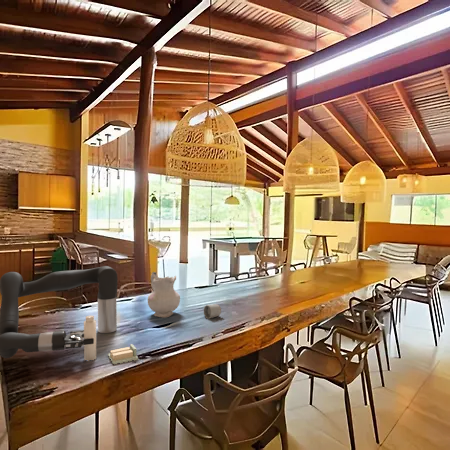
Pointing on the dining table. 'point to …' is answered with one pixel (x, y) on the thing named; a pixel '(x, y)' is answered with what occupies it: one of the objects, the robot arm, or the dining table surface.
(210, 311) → the ceramic mug
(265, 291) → the dining table surface
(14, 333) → the robot arm
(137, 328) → the dining table surface
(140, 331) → the dining table surface
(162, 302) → the ceramic pitcher
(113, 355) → the display stand
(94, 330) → the white bottle
